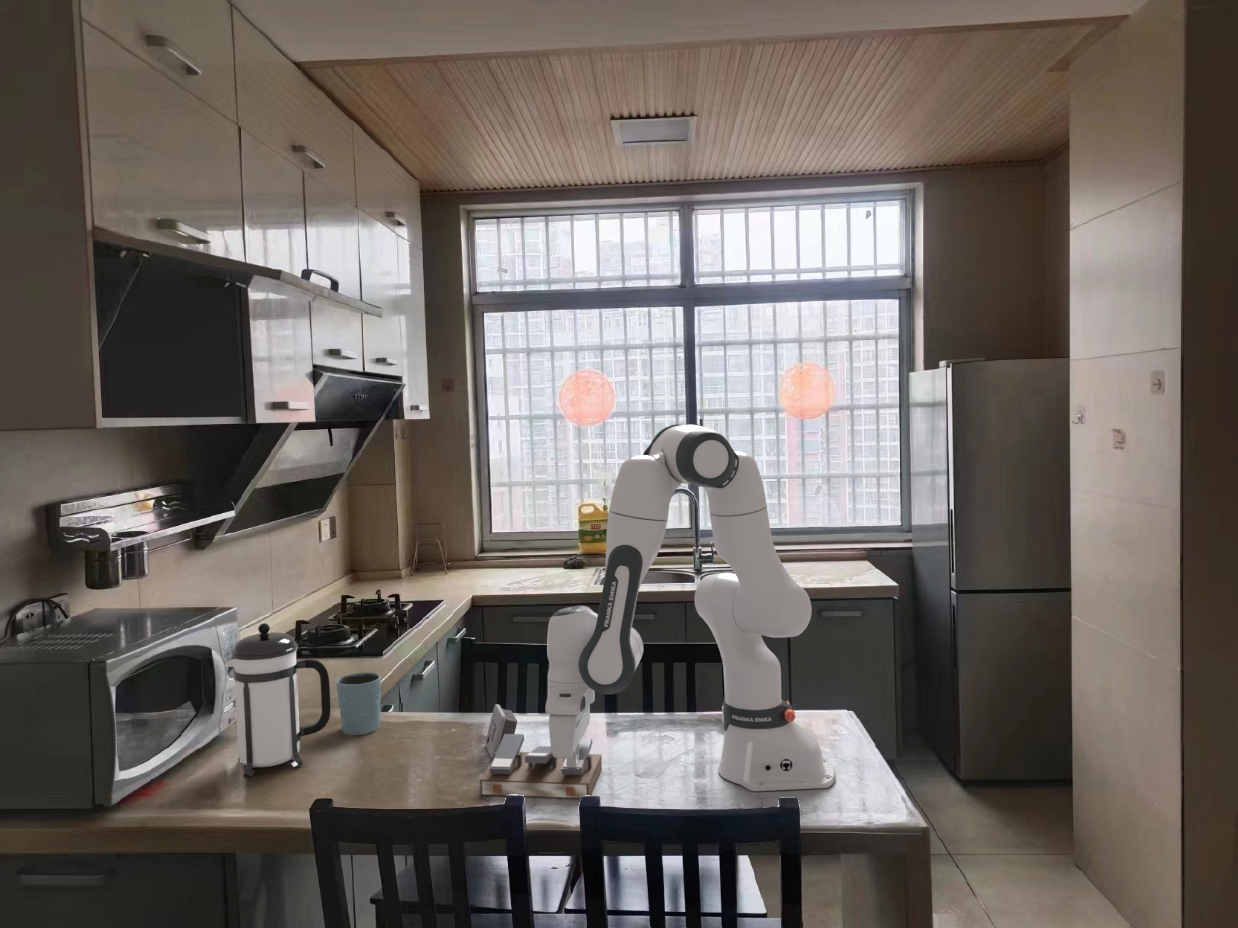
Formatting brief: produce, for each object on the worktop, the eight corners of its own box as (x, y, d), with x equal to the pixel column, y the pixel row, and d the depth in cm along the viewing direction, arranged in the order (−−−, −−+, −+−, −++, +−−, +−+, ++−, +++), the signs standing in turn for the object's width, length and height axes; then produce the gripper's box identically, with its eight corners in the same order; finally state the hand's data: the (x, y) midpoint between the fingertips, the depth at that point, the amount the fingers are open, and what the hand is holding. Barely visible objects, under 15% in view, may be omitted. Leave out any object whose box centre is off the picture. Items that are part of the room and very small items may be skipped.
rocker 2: (592, 743, 172) (591, 737, 172) (582, 775, 162) (582, 768, 161) (572, 742, 173) (572, 736, 173) (561, 774, 162) (561, 767, 162)
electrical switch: (484, 745, 189) (487, 703, 189) (508, 744, 190) (510, 702, 190) (491, 761, 180) (494, 717, 180) (515, 760, 181) (518, 716, 181)
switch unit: (601, 768, 174) (601, 742, 174) (588, 800, 160) (588, 771, 159) (501, 765, 177) (500, 739, 177) (479, 796, 163) (478, 767, 162)
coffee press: (277, 783, 171) (270, 634, 170) (215, 774, 177) (207, 629, 175) (334, 751, 187) (328, 615, 186) (275, 744, 193) (269, 611, 192)
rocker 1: (524, 739, 174) (523, 733, 174) (510, 774, 164) (509, 768, 164) (505, 738, 175) (504, 733, 175) (490, 773, 165) (489, 767, 164)
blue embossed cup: (366, 738, 195) (363, 686, 195) (328, 734, 198) (326, 682, 198) (391, 723, 205) (389, 673, 204) (355, 719, 208) (353, 670, 207)
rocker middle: (558, 752, 173) (558, 745, 173) (545, 763, 162) (545, 756, 163) (538, 752, 174) (538, 745, 174) (524, 762, 163) (525, 755, 163)
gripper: (565, 676, 174) (567, 743, 174) (543, 708, 154) (544, 784, 154) (596, 676, 173) (598, 744, 173) (577, 709, 153) (579, 786, 153)
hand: (572, 764), depth 164 cm, fingers closed, pressing on rocker 2
